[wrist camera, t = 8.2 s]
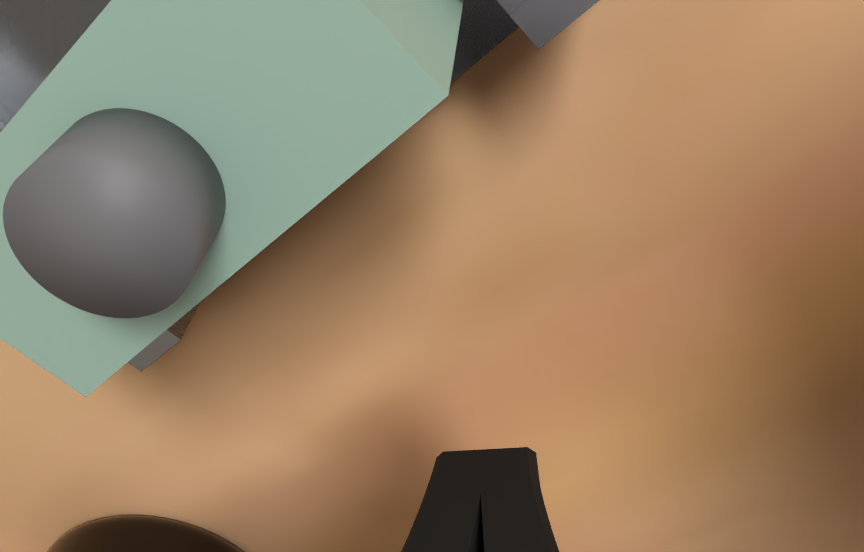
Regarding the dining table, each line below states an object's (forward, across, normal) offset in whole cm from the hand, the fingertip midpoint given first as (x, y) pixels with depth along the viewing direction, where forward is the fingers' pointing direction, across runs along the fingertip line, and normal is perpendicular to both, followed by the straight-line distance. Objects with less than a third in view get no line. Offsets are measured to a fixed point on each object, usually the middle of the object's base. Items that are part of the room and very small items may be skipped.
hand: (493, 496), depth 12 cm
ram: (+4, +4, -5) cm, 8 cm away
